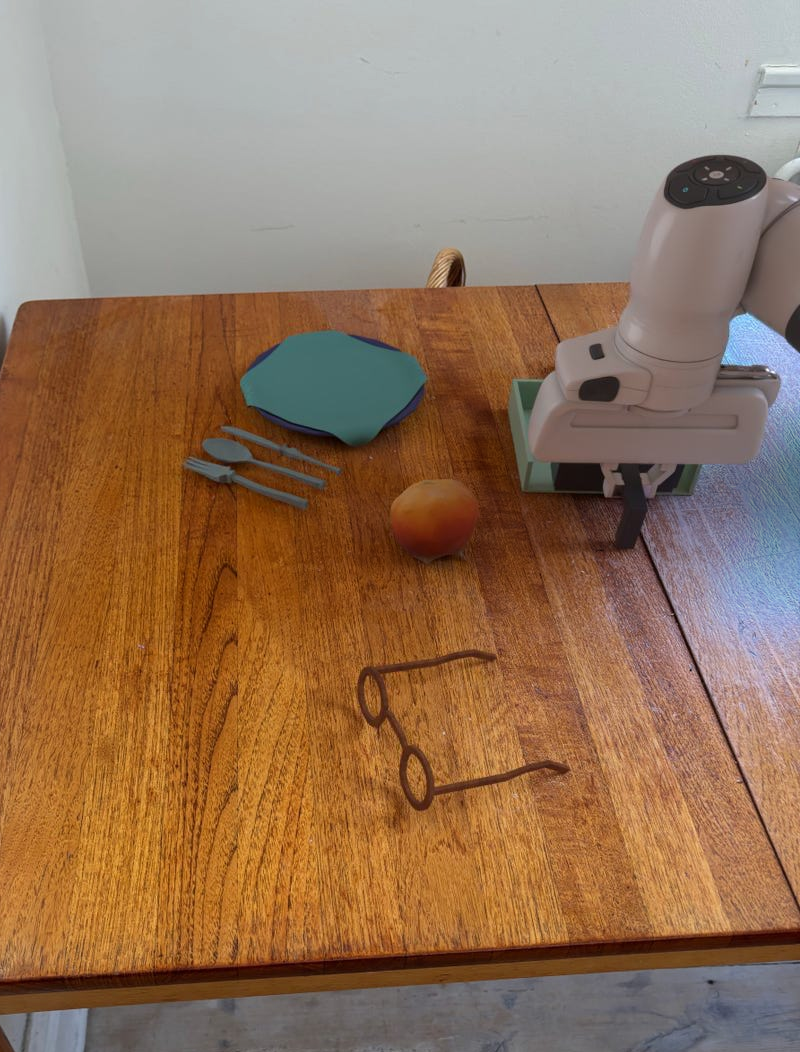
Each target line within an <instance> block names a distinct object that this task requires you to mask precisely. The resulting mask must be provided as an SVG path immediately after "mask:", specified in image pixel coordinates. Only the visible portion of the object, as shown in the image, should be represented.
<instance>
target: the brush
mask: <svg viewBox="0 0 800 1052" xmlns="http://www.w3.org/2000/svg"><path fill="white" fill-rule="evenodd" d="M654 465H655V464H644V463H619V465H618V468H617V470H612V471H613V473H622V476H623V480H624V483H625V486H624V490H623V491H622V497H621V502H622V506H623V510H622V513H621V516H620V519H619V522H618V525H617V529H616V531H615V534H614V542H615V547H616V549H617V550H634V549H635V547H636V545H637V541H638V539H639V537H640V533H641V530H642V528H643V525H644V521H645V519H646V517H647V513H648V510H649V506H648V501H647V498H645V494H644V490H643V485H642V481H641V477H640V473H647V472H648V471H649V470H650V469H651V468H652V467H653V466H654ZM550 466H551V474H552V480H553V486H554V491H603V483H604V479H605V476H604V474H603V472H602V469H601V466H600V463H566V462H551V465H550ZM684 467H685V464H677V466H676V469H675V472H674V473H672V474H671V475H670V476H669V477H668V478H667V479H665V480H664V481H663V482H662V483H661V484H660V485H658V486H657V489H656V492H668V493H672V491H673V488H677V486H678V483H679V480H680V478H681V475H682V472H683V470H684Z"/></svg>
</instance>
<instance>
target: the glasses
mask: <svg viewBox="0 0 800 1052" xmlns="http://www.w3.org/2000/svg"><path fill="white" fill-rule="evenodd" d="M467 658H474V659H479V660H484V661H488V662H494V661H495V660H496V659H497V658H498V656H497V654H496V653H492V652H489V651H484V650H480V649H475V648H471V649H467V650H462V651H454V652H451V653H447V654H444V655H440V656H438V657H433V658H426V659H420V660H411V661H405V662H397V663H391V664H383V665H376V666H372V665H368V666H364V667H363V668H362V669H361V670H360V672H359V675H358V678H357V684H356V696H357V703H358V706H359V709H360V712H361V714H362V716H363V718H364V720H365V721H366V723H367V725H369V726H370V727H372V728H377V727H381V726H382V724H384V722H385V721H386V720H387V721H388V723H389V725H390V727H391V728H392V730H393V732H394V734H395V736H396V738H397V739H398V742H399V744H400V748H401V750H402V752H401V755H400V759H399V767H398V776H399V782H400V786H401V789H402V791H403V794H404V796H405V799H406V801H407V802H408V804H409V805H410V806H411V808H413V810H415V811H417V812H423V811H427V810H428V809H429V808H430V807H431V805H432V803H433V801H434V798H435V796H441V795H445V794H451V793H455V792H461V791H465V790H470V789H475V788H476V789H477V788H481V787H485V786H490V785H497V784H501V783H506V782H508V781H511V780H513V779H516V778H518V777H520V776H523V775H525V774H528V773H531V772H535V771H539V770H542V769H547V770H551V771H554V772H558V773H561V774H567V773H568V772H570V771H571V770H572V769H571V767H570V765H567V764H565V763H561V762H558V761H554V760H550V759H546V760H541V761H537V762H533V763H528V764H525V765H523V766H519V767H516V768H515V769H511V770H509V771H507V772H504V773H498V774H493V775H487V776H483V777H478V778H473V779H468V780H463V781H458V782H452V783H448V784H442V785H438V786H435V776H434V772H433V770H432V769H433V768H432V766H431V764H430V761H429V760H428V757H427V755H426V754H425V753H424V751H423V750H422V748H420V747H419V746H417V745H414V744H409V743H408V739H407V736H406V734H405V731H404V730H403V728H402V726H401V724H400V722H399V721H398V719H397V717H396V715H395V714H394V713H393V711H391V710H389V708H390V703H389V702H390V701H389V695H388V691H387V687H386V684H385V681H384V679H383V677H382V675H385V674H391V673H399V672H406V671H412V670H419V669H426V668H433V667H438V666H440V665H444V664H447V663H449V662H452V661H457V660H461V659H467ZM367 677H372V678H373V680H374V681H375V683H376V686H377V688H378V692H379V697H380V708H379V712H378V714H377V717H376V718H374V716H373V715H372V714H371V712H370V711H369V710H370V709H369V708H368V705H367V702H366V698H365V697H366V696H365V684H366V680H367ZM411 755H413V756H414V757H415V758H416V759H417V760H418V761H419V763H420V766H421V767H422V771H423V772H424V773H423V774H424V776H425V782H426V783H425V784H426V789H425V795H424V798H423V800H422V801H419V800H418V799H417V798H416V797H415V795H414V794H413V791H412V789H411V787H410V784H409V779H408V773H407V772H408V771H407V770H408V762H409V760H410V757H411Z"/></svg>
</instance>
